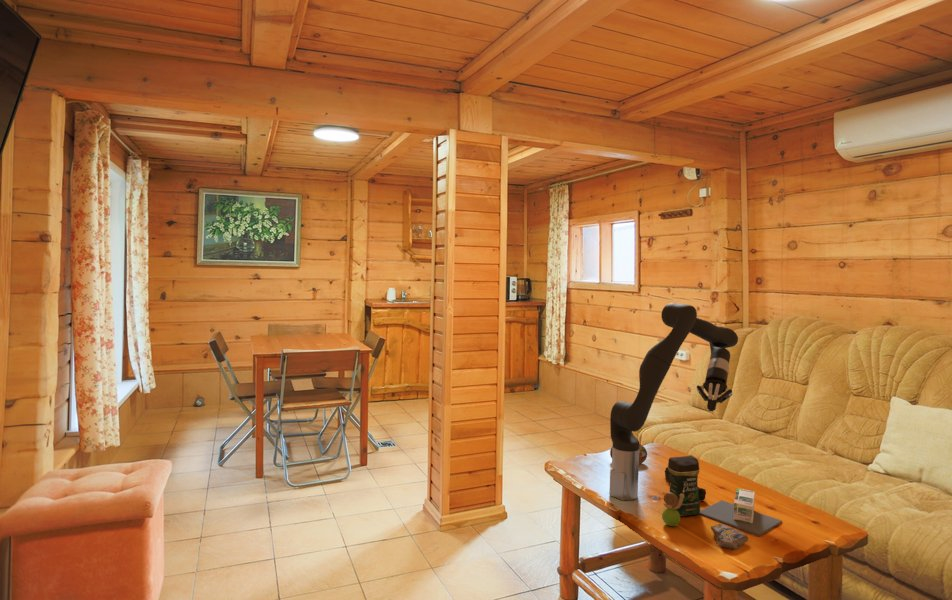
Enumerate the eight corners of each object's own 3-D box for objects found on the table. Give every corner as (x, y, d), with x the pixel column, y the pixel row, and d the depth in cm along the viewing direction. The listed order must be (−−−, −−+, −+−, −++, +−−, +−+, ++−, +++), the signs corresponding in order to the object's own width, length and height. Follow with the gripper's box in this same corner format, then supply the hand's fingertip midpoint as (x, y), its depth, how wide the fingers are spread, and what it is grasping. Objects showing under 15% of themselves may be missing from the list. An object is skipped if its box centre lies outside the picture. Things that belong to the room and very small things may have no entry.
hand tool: (706, 502, 197) (707, 486, 197) (693, 502, 196) (694, 486, 196) (673, 478, 219) (674, 464, 219) (661, 478, 219) (662, 464, 218)
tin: (610, 464, 234) (611, 444, 233) (609, 461, 237) (609, 441, 236) (647, 464, 234) (647, 444, 233) (644, 462, 237) (645, 442, 237)
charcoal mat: (759, 536, 171) (759, 534, 171) (697, 513, 187) (697, 511, 187) (781, 522, 181) (782, 520, 181) (721, 501, 197) (721, 500, 197)
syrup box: (755, 491, 191) (753, 505, 178) (754, 508, 191) (752, 524, 178) (736, 487, 193) (733, 501, 181) (735, 504, 194) (732, 520, 181)
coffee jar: (677, 518, 182) (675, 462, 181) (665, 508, 190) (663, 454, 189) (704, 515, 184) (703, 459, 183) (691, 505, 192) (690, 451, 191)
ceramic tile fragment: (703, 522, 174) (735, 521, 174) (703, 532, 174) (734, 532, 174) (723, 541, 162) (756, 541, 162) (722, 552, 162) (756, 552, 162)
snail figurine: (681, 531, 173) (682, 493, 173) (659, 526, 177) (661, 488, 176) (684, 525, 178) (686, 487, 177) (664, 520, 181) (665, 483, 181)
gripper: (698, 364, 218) (690, 401, 208) (735, 368, 211) (729, 406, 201) (700, 376, 222) (692, 413, 212) (736, 380, 216) (731, 418, 206)
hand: (710, 410), depth 207 cm, fingers closed
